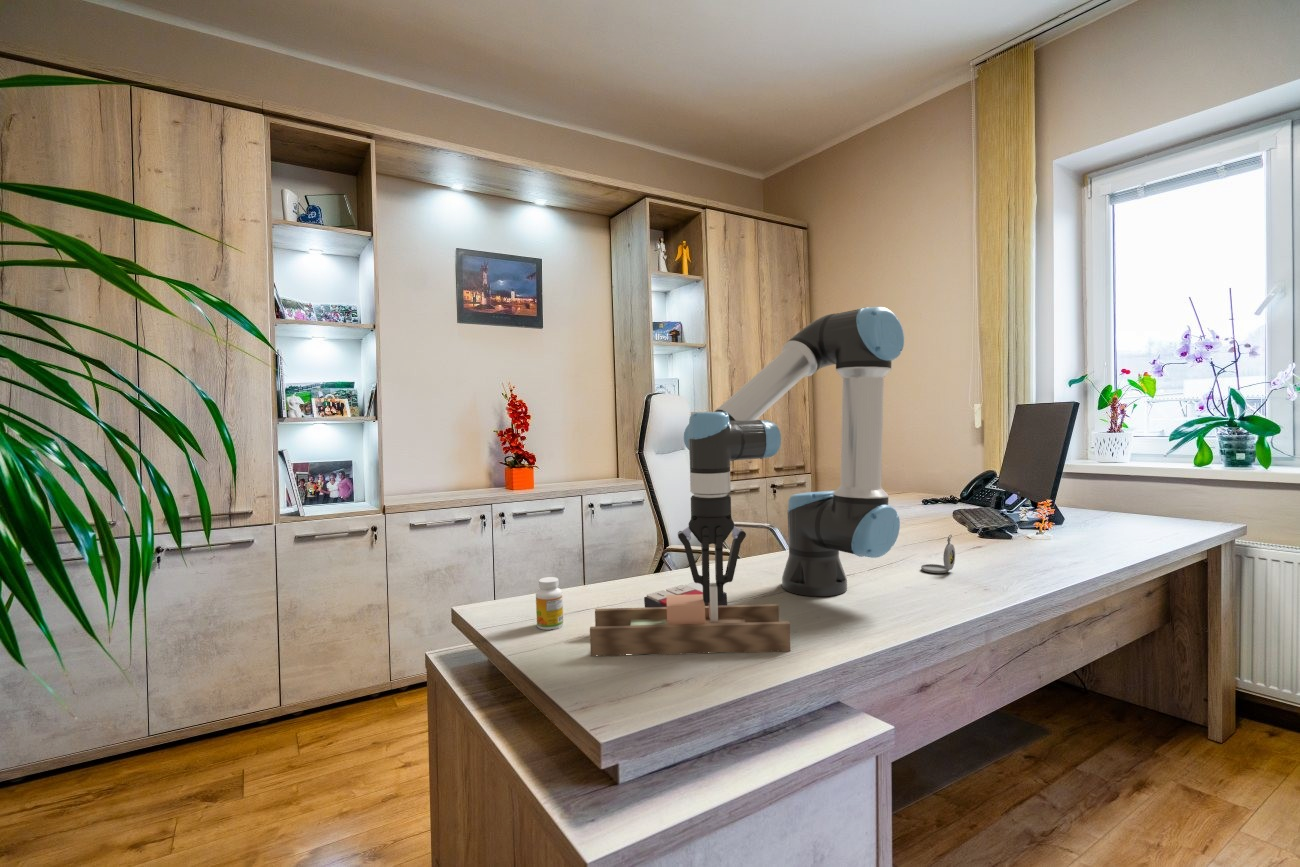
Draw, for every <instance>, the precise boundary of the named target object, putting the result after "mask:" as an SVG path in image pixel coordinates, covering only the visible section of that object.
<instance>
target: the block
mask: <svg viewBox="0 0 1300 867" xmlns="http://www.w3.org/2000/svg"><path fill="white" fill-rule="evenodd" d="M666 597H667V625H672V624H705V603H704V600H703V594H697V595H666Z"/></svg>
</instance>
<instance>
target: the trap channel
mask: <svg viewBox="0 0 1300 867" xmlns="http://www.w3.org/2000/svg"><path fill="white" fill-rule="evenodd" d="M594 625H595V626H590V627H589V645H590V646H589V647H590V657H602V656H601V655H620V656H627V655H626V654H658V655H687V654H686V653H697V654H709V653H708V652H735V653H766V652H767V653H768V652H769V653H771V652H791V623H790V622H789V621H787V620H786V621H780V607H779V604H778V603H768V604H765V603H763V604H759V603H758V604H731V605H730V604H729V605H728V604H727V605H721V606H718V621H710V618H709V606H705V624H672V625H667V607H646V608H645V607H621V608H620V607H619V608H618V607H617V608H616V607H614V608H613V607H612V608H595V609H594ZM680 653H682V654H680ZM596 655H598V656H596Z"/></svg>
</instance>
